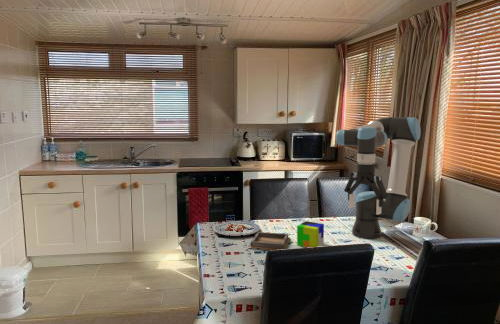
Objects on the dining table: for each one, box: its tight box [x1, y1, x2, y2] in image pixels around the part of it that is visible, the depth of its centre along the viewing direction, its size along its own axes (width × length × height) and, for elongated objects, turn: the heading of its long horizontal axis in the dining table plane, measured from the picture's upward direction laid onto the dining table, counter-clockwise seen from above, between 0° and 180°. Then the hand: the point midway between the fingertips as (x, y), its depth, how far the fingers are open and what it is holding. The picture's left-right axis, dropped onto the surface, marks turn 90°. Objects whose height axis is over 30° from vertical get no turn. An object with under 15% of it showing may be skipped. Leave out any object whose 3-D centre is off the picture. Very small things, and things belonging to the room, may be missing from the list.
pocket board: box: [247, 231, 291, 251], centre depth 194 cm, size 18×18×3 cm
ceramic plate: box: [213, 220, 261, 237], centre depth 215 cm, size 26×26×3 cm
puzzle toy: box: [296, 220, 325, 248], centre depth 193 cm, size 10×10×10 cm
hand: (364, 210), depth 169 cm, fingers open, 13 cm apart
